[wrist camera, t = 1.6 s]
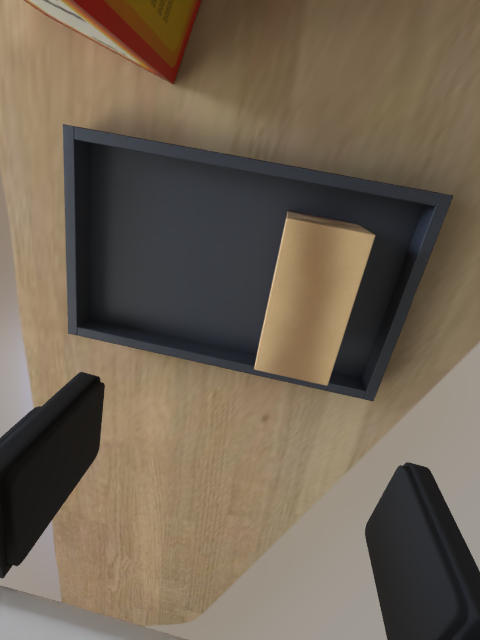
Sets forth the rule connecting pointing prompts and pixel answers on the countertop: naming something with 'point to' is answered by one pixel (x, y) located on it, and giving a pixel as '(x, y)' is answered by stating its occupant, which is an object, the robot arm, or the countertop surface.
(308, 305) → the wooden block
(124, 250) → the tray
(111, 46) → the baking soda box
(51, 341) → the countertop surface
